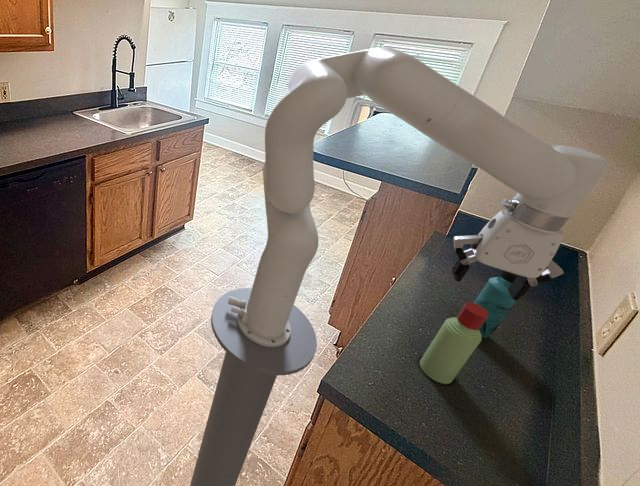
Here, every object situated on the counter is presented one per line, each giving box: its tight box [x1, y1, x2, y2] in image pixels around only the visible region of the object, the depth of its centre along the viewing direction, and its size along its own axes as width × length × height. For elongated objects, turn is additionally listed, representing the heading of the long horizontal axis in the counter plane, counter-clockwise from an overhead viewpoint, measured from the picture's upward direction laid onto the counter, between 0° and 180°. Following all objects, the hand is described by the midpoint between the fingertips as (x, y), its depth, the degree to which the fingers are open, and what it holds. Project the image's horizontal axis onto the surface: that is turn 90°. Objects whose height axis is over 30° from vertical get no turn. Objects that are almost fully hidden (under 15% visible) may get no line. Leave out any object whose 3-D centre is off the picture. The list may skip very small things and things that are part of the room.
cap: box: [456, 301, 489, 330], centre depth 77 cm, size 4×4×4 cm
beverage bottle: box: [472, 270, 519, 338], centre depth 92 cm, size 6×7×20 cm
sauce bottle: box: [419, 316, 483, 385], centre depth 81 cm, size 6×6×18 cm
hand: (483, 286), depth 75 cm, fingers open, 9 cm apart
